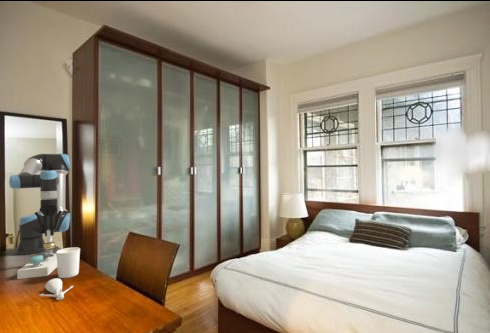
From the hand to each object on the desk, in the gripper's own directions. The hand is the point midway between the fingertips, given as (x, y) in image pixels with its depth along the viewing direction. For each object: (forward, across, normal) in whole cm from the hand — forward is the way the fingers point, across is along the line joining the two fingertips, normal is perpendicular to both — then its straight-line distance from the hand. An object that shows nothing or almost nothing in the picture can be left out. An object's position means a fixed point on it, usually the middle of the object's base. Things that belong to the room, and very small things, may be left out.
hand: (49, 241), depth 149 cm
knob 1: (+10, 0, -16) cm, 19 cm away
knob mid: (+11, 0, -8) cm, 13 cm away
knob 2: (+8, 0, 0) cm, 8 cm away
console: (+12, 0, -8) cm, 14 cm away
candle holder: (+12, +16, -23) cm, 30 cm away
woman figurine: (+13, +17, -44) cm, 49 cm away
